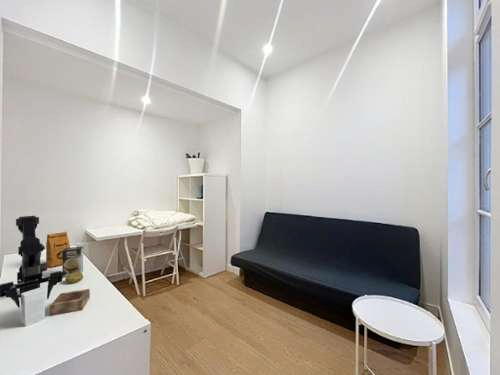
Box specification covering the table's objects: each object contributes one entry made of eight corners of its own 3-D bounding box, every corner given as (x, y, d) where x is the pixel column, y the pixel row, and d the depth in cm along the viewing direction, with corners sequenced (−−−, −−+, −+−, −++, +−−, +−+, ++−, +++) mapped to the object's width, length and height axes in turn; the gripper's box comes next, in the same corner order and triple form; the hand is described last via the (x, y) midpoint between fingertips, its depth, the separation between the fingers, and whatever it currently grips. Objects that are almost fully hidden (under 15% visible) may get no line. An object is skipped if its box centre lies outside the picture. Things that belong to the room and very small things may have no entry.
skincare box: (41, 315, 92) (40, 286, 92) (45, 318, 90) (44, 289, 90) (20, 323, 87) (20, 293, 86) (24, 326, 85) (24, 296, 84)
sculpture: (63, 278, 119) (66, 273, 125) (63, 286, 119) (66, 280, 125) (82, 275, 123) (83, 270, 130) (82, 282, 123) (83, 277, 130)
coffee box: (62, 278, 129) (61, 250, 128) (65, 274, 134) (64, 247, 134) (81, 275, 133) (80, 248, 133) (83, 271, 139) (83, 245, 138)
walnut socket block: (50, 316, 91) (49, 305, 91) (61, 302, 101) (60, 293, 101) (82, 310, 96) (82, 299, 95) (89, 298, 106) (89, 288, 106)
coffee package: (72, 263, 152) (72, 232, 152) (48, 269, 142) (48, 235, 142) (68, 260, 158) (67, 230, 158) (44, 265, 148) (44, 233, 148)
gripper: (-3, 263, 84) (-3, 303, 76) (61, 252, 97) (66, 285, 90) (-1, 278, 89) (-2, 316, 82) (59, 265, 103) (63, 297, 96)
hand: (34, 302), depth 87 cm, fingers open, 8 cm apart
